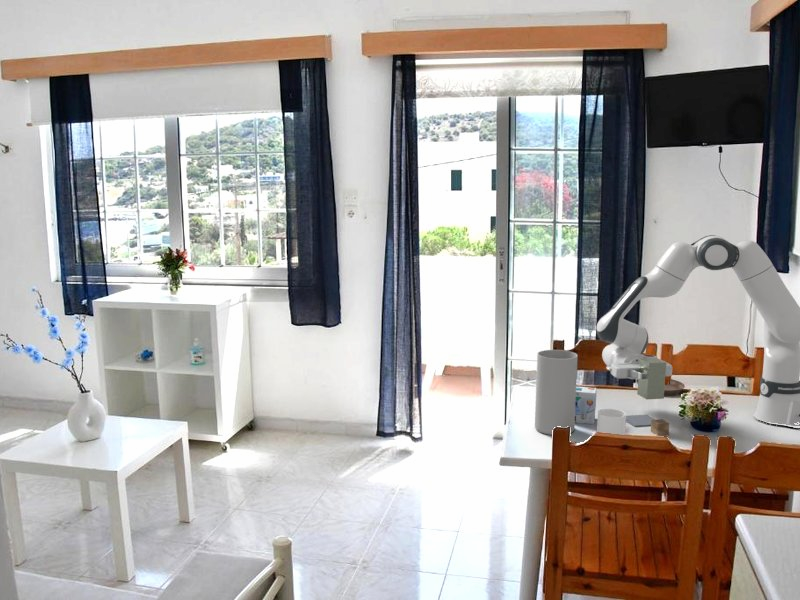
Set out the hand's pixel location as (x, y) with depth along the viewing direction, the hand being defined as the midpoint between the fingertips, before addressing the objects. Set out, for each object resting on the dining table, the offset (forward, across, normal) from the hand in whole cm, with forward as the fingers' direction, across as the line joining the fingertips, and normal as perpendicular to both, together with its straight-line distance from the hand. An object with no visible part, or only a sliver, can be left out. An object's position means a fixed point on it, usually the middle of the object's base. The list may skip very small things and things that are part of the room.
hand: (653, 376), depth 239 cm
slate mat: (-6, 0, +17) cm, 18 cm away
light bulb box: (-11, -20, +18) cm, 29 cm away
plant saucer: (-39, +26, +18) cm, 50 cm away
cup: (+11, -20, +18) cm, 29 cm away
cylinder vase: (-3, -32, +18) cm, 36 cm away
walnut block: (+6, 0, +17) cm, 18 cm away
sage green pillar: (-1, 0, +7) cm, 7 cm away
